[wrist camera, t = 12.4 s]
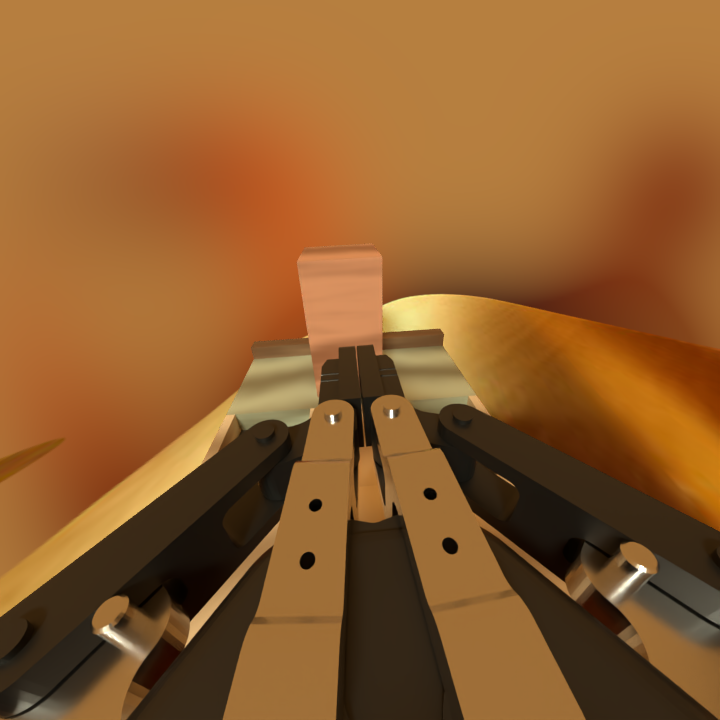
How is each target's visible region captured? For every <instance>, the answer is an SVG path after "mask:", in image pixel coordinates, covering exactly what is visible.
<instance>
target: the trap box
mask: <svg viewBox="0 0 720 720" xmlns="http://www.w3.org/2000/svg"><path fill="white" fill-rule="evenodd" d="M443 338H444V334H443V332H442V331H441V330H440V329H430V330H415V331H401V332H387V333H382V355H387V356H389V357H390V358H391V359H392V360H393V362H394V365H395V368H396V371H397V375H398V377H399V380H400V383H401V387H402V390H403V393H404V396H405V398H406V399H407V400H409V401H410V403H411V404H412V406H413V407H414V408H416V409H418V410H420V411H424V412H429V413H436V414H439V413H440V411H441V409H442V408H443V407H445V406H447V405H450V404H465V405H469V406H471V407H474V408H476V409H478V410H480V411H482V412H484V413H486V414H488V415H490V414H489V413H488V411H487V410H486V408H485V407H484V405H483V404H482V402H481V401H480V400H479V398H478V397H477V395H476V394H475V392H474V391H473V389H472V388H471V386H470V385H469V384H468V382H467V381H466V379H465V378H464V376H463V375H462V373H461V372H460V370H459V369H458V367H457V366H456V365H455V363H454V362H453V360H452V359H451V357H450V356H449V354H448V353H447V351H446V350H445V349H444V347H443ZM251 349H252V353H253V356H254V361H253V363H252V365H251V367H250V369H249V371H248V373H247V375H246V377H245V379H244V381H243V383H242V385H241V387H240V389H239V391H238V393H237V395H236V397H235V399H234V401H233V403H232V405H231V407H230V409H229V411H228V413H227V415H226V417H225V419H224V421H223V423H222V425H221V427H220V429H219V431H218V433H217V435H216V437H215V438H214V440H213V442H212V444H211V446H210V448H209V450H208V452H207V454H206V456H205V458H204V460H203V462H202V464H203V463H204V462H206V461H207V460H208V459H210V458H211V457H212V456H214V455H215V454H216V453H217V452H219V451H220V450H221V449H223V448H224V447H225V446H227V445H228V444H229V443H231V442H232V441H233V440H235V439H236V438H237V437H239V436H240V435H241V434H243V433H244V432H245V431H246V430H248V429H249V428H250V427H252V426H253V425H255V424H257V423H259V422H261V421H265V420H272V419H274V420H280V421H282V422H284V423H285V424H286V425H287V427H288V428H289V427H292V426H294V425H297V424H300V423H303V422H305V421H307V420H308V419H310V418H311V416H312V413H313V410H314V409H315V408H316V407H317V406H318V403H319V397H318V396H317V390H316V383H315V377H314V370H313V364H312V357H311V351H310V344H309V338H301V339H287V340H273V341H258V342H254V344H253V345H252V347H251ZM361 407H362V404H361ZM362 421H363V413H362ZM363 435H364V447H359V451H360V460H359V510H358V518H359V521H364V522H370V523H376V522H379V521H382V520H385V515H384V510H383V506H382V501H381V497H380V492H379V488H378V483H377V478H376V474H375V469H374V464H373V450H372V446H368V447H366V441H365V432H364V423H363ZM477 463H478V464H480V465H482V466H483V467H485V468H486V469H488V470H489V471H491V472H493V473H494V474H496V475H497V476H499V477H500V478H502V479H504V480H505V481H507V482H508V483H510V484H511V485H513V484H512V483H511V482H509V481H508V480H506V479H505V478H503V477H502V476H500V475H498V474H497V473H495V472H494V471H492V470H491V469H489V468H487V467H486V466H484V465H483V464H481V463H479V462H478V461H477ZM202 464H201V465H202ZM513 486H514V485H513ZM473 514H474V516H475V518H476V520H477V522H478V524H479V526H480V527H482V528H484V529H485V530H487V531H489V532H490V533H492V534H493V535H495V536H496V537H498V538H499V539H500V540H502V541H503V542H504V543H505V544H506V545H508V546H509V547H510V548H511V549H512V550H514V551H515V552H516V553H517V554H519V555H520V556H521V557H522V558H523V559H525V560H526V561H527V562H528V563H529V564H531V565H532V566H533V567H534V568H536V569H537V570H538V571H539V572H540V573H542V574H543V575H544V576H545V577H546V578H548V579H549V580H550V581H551V582H553V583H554V584H555V585H556V586H557V587H559V588H560V589H561V590H562V591H563V592H565V593H566V594H567V595H568V596H570V594H569V592H568V590H567V586H566V583H565V582H564V581H562V580H561V579H560V578H558V577H557V576H556V575H554V574H553V573H552V572H550V571H549V570H548V569H547V568H545V567H544V566H543V565H541V564H540V563H539V562H537V561H536V560H535V559H534V558H532V557H531V556H530V555H528V554H527V553H526V552H524V551H523V550H522V549H520V548H519V547H518V546H517V545H515V544H514V543H513V542H511V541H510V540H509V539H507V538H506V537H505V536H504V535H502V534H501V533H500V532H498V531H497V530H496V529H494V528H493V527H492V526H490V525H489V524H488V523H487V522H485V521H484V520H483V519H481V518H480V517H479V516H477V515H476V514H475V513H473ZM279 522H280V521H279ZM279 522H278V523H277V524H276V525H275V527H274V528H273V529H272V530H271V531H270V532H269V533H268V535H267V536H266V537H265V538H264V539H263V540H262V541H261V542H260V544H259V545H258V546H257V547H256V548H255V549H254V550H253V552H252V553H251V554H250V555H249V556H248V557H247V558H246V559H245V561H244V562H243V563H242V564H241V565H240V566H239V567H238V568H237V570H236V571H235V572H234V573H233V574H232V575H231V576H230V578H229V579H228V580H227V581H226V582H225V583H224V584H223V585H222V587H221V588H220V589H219V590H218V591H217V592H216V593H215V594H214V596H213V597H212V598H211V599H210V600H209V601H208V602H207V604H206V605H205V606H204V607H203V608H202V609H201V610H200V611H199V613H198V614H197V615H196V616H195V617H194V618H193V619H192V620H191V622H190V630H189V636H188V639H187V642H186V645H187V644H188V643H189V642H190V641H191V639H192V638H193V637H194V636H195V634H196V633H197V632H198V631H199V629H200V628H201V627H202V626H203V625H204V623H205V622H206V621H207V620H208V618H209V617H210V616H211V615H212V613H213V612H214V611H215V610H216V609H217V607H218V606H219V605H220V604H221V602H222V601H223V600H224V599H225V597H226V596H227V595H228V594H229V593H230V591H231V590H232V589H233V588H234V586H235V585H236V584H237V583H238V581H239V580H240V579H241V578H242V577H243V575H244V574H245V573H246V572H247V570H248V569H249V568H250V567H251V566H252V564H253V563H254V562H255V561H256V560H257V559H258V558H259V557H260V556H261V555H262V554H263V553H264V552H266V551H267V550H268V549H269V548H270V547H272V546H273V545H274V542H275V538H276V534H277V530H278V526H279ZM186 645H185V647H186Z"/></svg>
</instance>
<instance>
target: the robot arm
mask: <svg viewBox="0 0 720 720" xmlns="http://www.w3.org/2000/svg"><path fill="white" fill-rule="evenodd" d="M338 351H339V359H328V360H326V362H325V363H324V364H323V366H322V369H321V380H320V381H321V382H320V392H319V403H318V406H317V407H316V408H315V409H314V410H313V413H312V416H311V418H310V419H308V420H307V421H305V422H303V423H300V424H297V425H294V426H292V427H289V428H288V427H287V425H286V424H285V423H284V422H282V421H280V420H274V419H272V420H265V421H261V422H259V423H257V424H255V425H253V426H252V427H250V428H249V429H248V430H246V431H245V432H244V433H243V434H241V435H240V436H239V437H237V438H236V439H235V440H233V441H232V442H231V443H229V444H228V445H227V446H225V447H224V448H223V449H221V450H220V451H219V452H217V453H216V454H215V455H214V456H212V457H211V458H210V459H208V460H207V461H206V462H204V463H203V464H202V465H200V466H199V467H198V468H196V469H195V470H194V471H192V472H191V473H190V474H188V475H187V476H186V477H185V478H183V479H182V480H181V481H179V482H178V483H177V484H175V485H174V486H173V487H171V488H170V489H169V490H167V491H166V492H165V493H163V494H162V495H161V496H160V497H158V498H157V499H156V500H154V501H153V502H152V503H150V504H149V505H148V506H146V507H145V508H144V509H142V510H141V511H140V512H138V513H137V514H136V515H134V516H133V517H132V518H131V519H129V520H128V521H127V522H125V523H124V524H123V525H121V526H120V527H119V528H117V529H116V530H115V531H113V532H112V533H111V534H109V535H108V536H107V537H105V538H104V539H103V540H102V541H100V542H99V543H98V544H96V545H95V546H94V547H92V548H91V549H90V550H88V551H87V552H86V553H84V554H83V555H82V556H80V557H79V558H78V559H76V560H75V561H74V562H73V563H71V564H70V565H69V566H67V567H66V568H65V569H63V570H62V571H61V572H59V573H58V574H57V575H55V576H54V577H53V578H51V579H50V580H49V581H47V582H46V583H45V584H44V585H42V586H41V587H40V588H38V589H37V590H36V591H34V592H33V593H32V594H30V595H29V596H28V597H26V598H25V599H24V600H22V601H21V602H20V603H19V604H17V605H16V606H15V607H13V608H12V609H11V610H9V611H8V612H7V613H5V614H4V615H3V616H1V617H0V720H720V532H719V531H717V530H715V529H714V528H712V527H710V526H708V525H706V524H704V523H702V522H700V521H698V520H696V519H694V518H692V517H690V516H688V515H686V514H684V513H682V512H680V511H678V510H676V509H674V508H672V507H670V506H668V505H666V504H664V503H662V502H660V501H658V500H656V499H654V498H652V497H650V496H648V495H646V494H644V493H642V492H640V491H638V490H636V489H634V488H632V487H630V486H628V485H626V484H624V483H622V482H620V481H618V480H616V479H614V478H612V477H610V476H608V475H607V474H605V473H603V472H601V471H599V470H597V469H595V468H593V467H591V466H589V465H587V464H585V463H583V462H581V461H579V460H577V459H575V458H573V457H571V456H569V455H567V454H565V453H563V452H561V451H559V450H557V449H555V448H553V447H551V446H549V445H547V444H545V443H543V442H541V441H539V440H537V439H535V438H533V437H531V436H529V435H527V434H525V433H523V432H521V431H519V430H517V429H515V428H513V427H511V426H509V425H507V424H505V423H503V422H501V421H499V420H498V419H496V418H494V417H492V416H490V415H488V414H486V413H484V412H482V411H480V410H478V409H476V408H474V407H471V406H469V405H465V404H450V405H447V406H445V407H443V408H442V409H441V411H440V413H439V414H436V413H429V412H424V411H420V410H418V409H416V408H414V407H413V406H412V404H411V403H410V401H409V400H407V399H406V398H405V396H404V393H403V390H402V387H401V383H400V380H399V377H398V375H397V371H396V368H395V365H394V362H393V360H392V359H391V358H390V357H389V356H387V355H376V354H375V350H374V346H373V344H371V345H359V346H357V358H356V349H355V346H348V347H339V348H338ZM357 360H358V367H357ZM358 374H359V377H358ZM361 404H362V407H361ZM362 413H363V421H362ZM363 423H364V432H365V441H366V447H368V446H372V450H373V464H374V469H375V474H376V478H377V483H378V488H379V492H380V497H381V501H382V506H383V510H384V515H385V520H382V521H379V522H376V523H370V522H364V521H359V518H358V510H359V460H360V451H359V447H364V435H363ZM477 461H478V462H479V463H481V464H483V465H484V466H486V467H487V468H489V469H491V470H492V471H494V472H495V473H497V474H498V475H500V476H502V477H503V478H505V479H506V480H508V481H509V482H511V483H512V484H513V485H514V486H513V485H511V484H510V483H508V482H507V481H505V480H504V479H502V478H500V477H499V476H497V475H496V474H494V473H493V472H491V471H489V470H488V469H486V468H485V467H483V466H482V465H480V464H478V463H477ZM473 513H475V514H476V515H477V516H479V517H480V518H481V519H483V520H484V521H485V522H487V523H488V524H489V525H490V526H492V527H493V528H494V529H496V530H497V531H498V532H500V533H501V534H502V535H504V536H505V537H506V538H507V539H509V540H510V541H511V542H513V543H514V544H515V545H517V546H518V547H519V548H520V549H522V550H523V551H524V552H526V553H527V554H528V555H530V556H531V557H532V558H534V559H535V560H536V561H537V562H539V563H540V564H541V565H543V566H544V567H545V568H547V569H548V570H549V571H550V572H552V573H553V574H554V575H556V576H557V577H558V578H560V579H561V580H562V581H564V582H565V583H566V586H567V590H568V592H569V594H570V596H568V595H567V594H566V593H565V592H563V591H562V590H561V589H560V588H559V587H557V586H556V585H555V584H554V583H553V582H551V581H550V580H549V579H548V578H546V577H545V576H544V575H543V574H542V573H540V572H539V571H538V570H537V569H536V568H534V567H533V566H532V565H531V564H529V563H528V562H527V561H526V560H525V559H523V558H522V557H521V556H520V555H519V554H517V553H516V552H515V551H514V550H512V549H511V548H510V547H509V546H508V545H506V544H505V543H504V542H503V541H502V540H500V539H499V538H498V537H496V536H495V535H493V534H492V533H490V532H489V531H487V530H485V529H484V528H482V527H480V526H479V524H478V522H477V520H476V518H475V516H474V514H473ZM279 521H280V522H279ZM278 522H279V526H278V530H277V534H276V538H275V542H274V545H273V546H272V547H270V548H269V549H268V550H267V551H266V552H264V553H263V554H262V555H261V556H260V557H259V558H258V559H257V560H256V561H255V562H254V563H253V564H252V566H251V567H250V568H249V569H248V570H247V572H246V573H245V574H244V575H243V577H242V578H241V579H240V580H239V581H238V583H237V584H236V585H235V586H234V588H233V589H232V590H231V591H230V593H229V594H228V595H227V596H226V597H225V599H224V600H223V601H222V602H221V604H220V605H219V606H218V607H217V609H216V610H215V611H214V612H213V613H212V615H211V616H210V617H209V618H208V620H207V621H206V622H205V623H204V625H203V626H202V627H201V628H200V629H199V631H198V632H197V633H196V634H195V636H194V637H193V638H192V639H191V641H190V642H189V643H188V644H187V645H186V642H187V639H188V636H189V630H190V622H191V620H192V619H193V618H194V617H195V616H196V615H197V614H198V613H199V611H200V610H201V609H202V608H203V607H204V606H205V605H206V604H207V602H208V601H209V600H210V599H211V598H212V597H213V596H214V594H215V593H216V592H217V591H218V590H219V589H220V588H221V587H222V585H223V584H224V583H225V582H226V581H227V580H228V579H229V578H230V576H231V575H232V574H233V573H234V572H235V571H236V570H237V568H238V567H239V566H240V565H241V564H242V563H243V562H244V561H245V559H246V558H247V557H248V556H249V555H250V554H251V553H252V552H253V550H254V549H255V548H256V547H257V546H258V545H259V544H260V542H261V541H262V540H263V539H264V538H265V537H266V536H267V535H268V533H269V532H270V531H271V530H272V529H273V528H274V527H275V525H276V524H277V523H278ZM185 645H186V647H185Z"/></svg>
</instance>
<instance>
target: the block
mask: <svg viewBox="0 0 720 720" xmlns="http://www.w3.org/2000/svg"><path fill="white" fill-rule="evenodd" d="M297 266H298V272H299V279H300V285H301V292H302V298H303V305H304V311H305V318H306V325H307V331H308V338H309V344H310V351H311V357H312V364H313V370H314V377H315V383H316V390H317V396H318V397H319V392H320V382H321V381H320V380H321V369H322V366H323V364H324V363H325V362H326V360H328V359H339V351H338V348H339V347H348V346H355V349H356V358H357V346H359V345H371V344H373V346H374V350H375V354H376V355H382V256H381V255H380V253H379V252H378V250H377V249H376V248H375V246H374V245H373V244H358V245H341V246H324V247H308V248H304V250H303V252H302V254H301V255H300V257H299V259H298V261H297ZM357 367H358V360H357ZM358 377H359V374H358Z"/></svg>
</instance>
